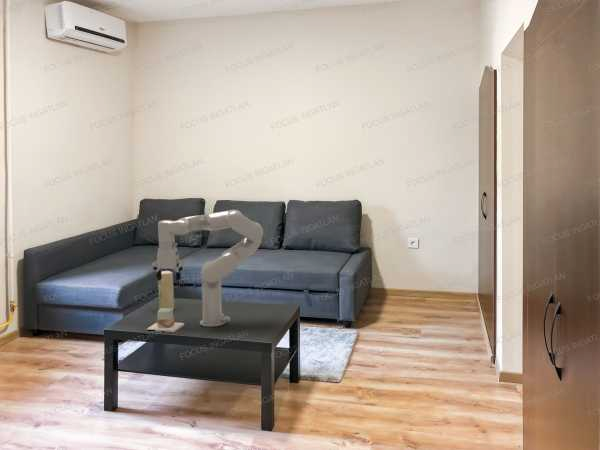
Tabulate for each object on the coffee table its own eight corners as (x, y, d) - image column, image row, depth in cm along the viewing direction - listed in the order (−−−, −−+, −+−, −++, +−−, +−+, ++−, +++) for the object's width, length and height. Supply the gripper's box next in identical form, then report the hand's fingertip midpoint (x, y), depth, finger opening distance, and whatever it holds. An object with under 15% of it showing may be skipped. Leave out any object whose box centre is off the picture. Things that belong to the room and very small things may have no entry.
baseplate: (184, 324, 279) (184, 323, 279) (174, 332, 268) (174, 330, 268) (157, 323, 282) (157, 321, 282) (147, 330, 270) (146, 328, 270)
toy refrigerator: (157, 309, 310) (156, 271, 307) (170, 307, 313) (169, 270, 311) (161, 312, 303) (159, 274, 300) (174, 310, 306) (173, 272, 304)
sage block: (172, 316, 277) (172, 308, 277) (169, 319, 271) (169, 311, 271) (160, 316, 277) (160, 308, 277) (157, 319, 271) (157, 311, 271)
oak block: (174, 324, 277) (174, 316, 277) (169, 327, 271) (168, 319, 271) (163, 323, 278) (162, 315, 278) (157, 327, 272) (157, 319, 272)
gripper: (186, 244, 277) (188, 278, 279) (153, 244, 280) (155, 278, 282) (180, 246, 269) (182, 281, 271) (147, 246, 272) (149, 281, 274)
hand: (168, 279), depth 277 cm, fingers open, 9 cm apart
